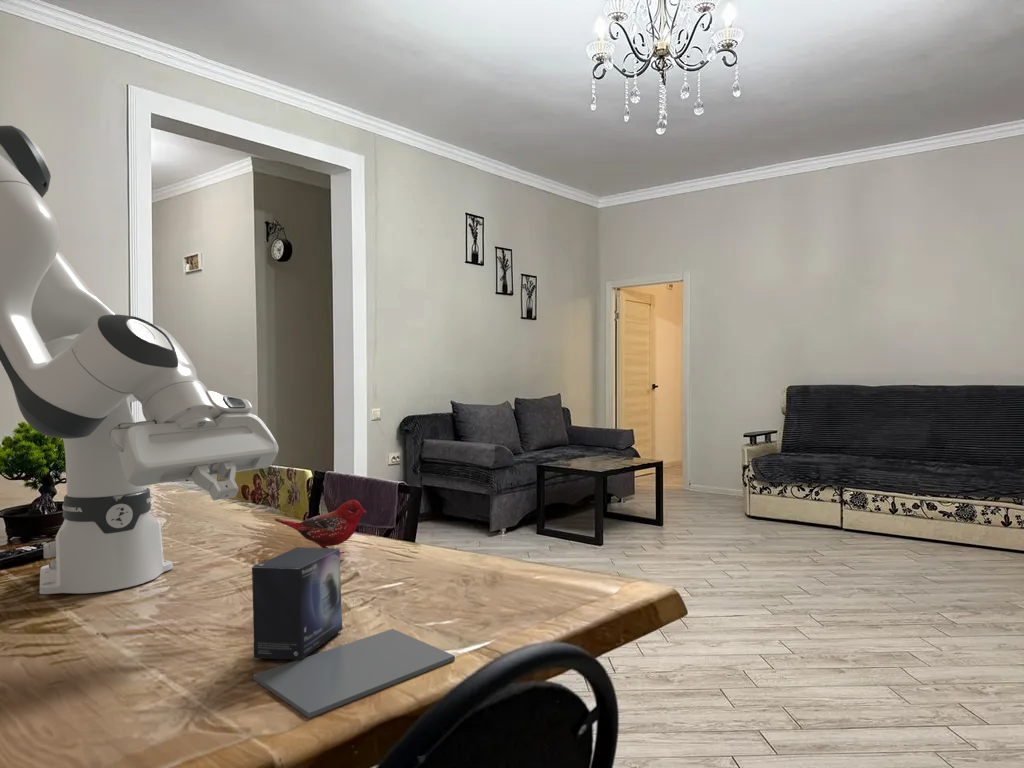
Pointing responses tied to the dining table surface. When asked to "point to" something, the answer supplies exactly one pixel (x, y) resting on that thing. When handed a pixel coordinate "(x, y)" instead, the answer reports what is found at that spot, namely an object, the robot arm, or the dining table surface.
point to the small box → (296, 602)
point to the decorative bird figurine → (330, 525)
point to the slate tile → (351, 671)
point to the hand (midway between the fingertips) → (226, 495)
